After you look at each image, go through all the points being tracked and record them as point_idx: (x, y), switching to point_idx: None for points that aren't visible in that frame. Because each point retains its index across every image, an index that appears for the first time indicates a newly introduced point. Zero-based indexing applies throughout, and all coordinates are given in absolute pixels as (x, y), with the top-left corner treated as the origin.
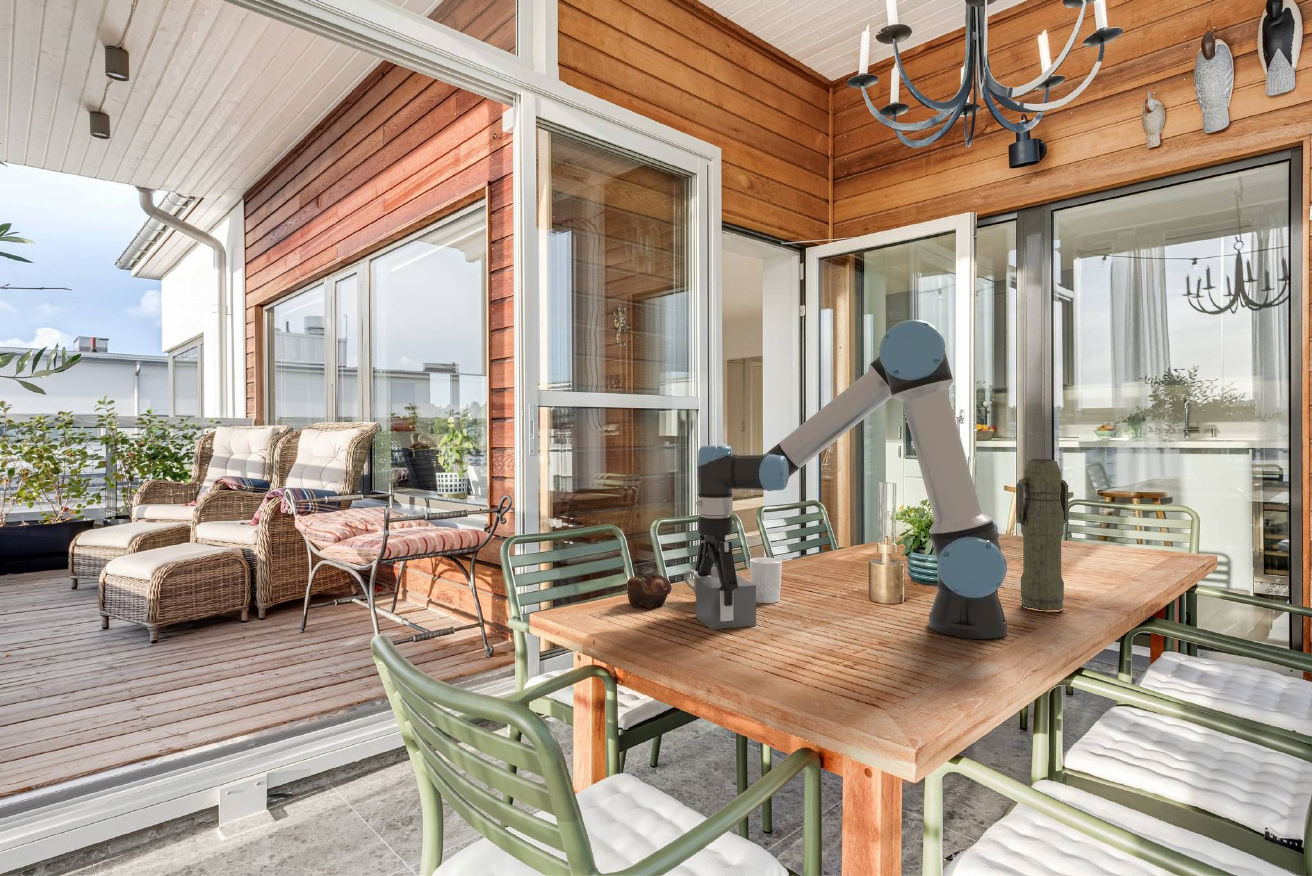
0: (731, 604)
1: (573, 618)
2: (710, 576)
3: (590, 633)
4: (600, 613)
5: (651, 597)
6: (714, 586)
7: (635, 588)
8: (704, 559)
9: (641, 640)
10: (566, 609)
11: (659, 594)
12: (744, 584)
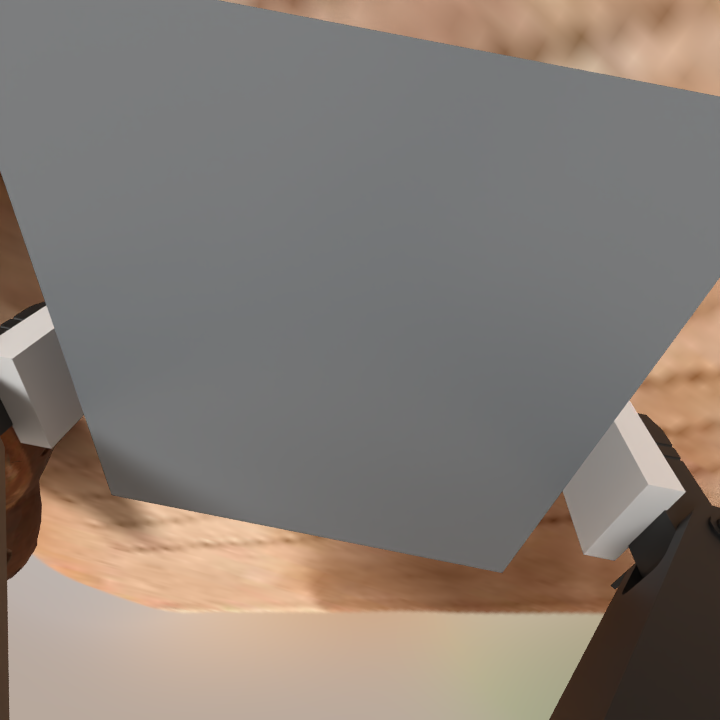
0: (650, 428)
1: (156, 581)
2: (2, 360)
3: (311, 603)
4: (109, 530)
5: (37, 457)
6: (459, 535)
7: (28, 546)
8: (8, 714)
9: (438, 565)
10: (57, 562)
11: (8, 435)
12: (609, 267)
